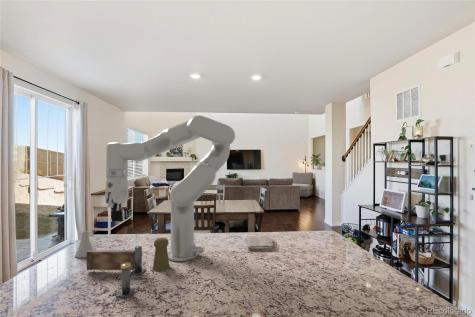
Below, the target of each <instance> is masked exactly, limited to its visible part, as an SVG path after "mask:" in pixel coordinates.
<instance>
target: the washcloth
mask: <svg viewBox="0 0 475 317" xmlns="http://www.w3.org/2000/svg"><path fill="white" fill-rule="evenodd" d="M245 240H246V244H247V251H248V252H273V251H274V248H273V247H274V244H273V241H272V238H271V237H270V235H261V236H260V235H259V236H256V235H254V236H253V235H251V236H250V235H249V236H246V238H245Z"/></svg>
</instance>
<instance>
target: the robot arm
mask: <svg viewBox="0 0 475 317" xmlns="http://www.w3.org/2000/svg"><path fill="white" fill-rule="evenodd" d="M200 138H202V139H205V140H208V141H211V143H212V144H211V145H212V146H211V149H210V151H208V153H207V154H206V155H204V157H203V158H202V159H201V160H200V161H198V163H196V164H194V165H193V167H192V168H191V170H190V172H189V173H188V174H187V175H186V176H185V177H184V178H183V179H182V180H178V181H176V182H175V183H174V184H172V186H171V189H170V251H169V252H168V259H169V261H173V262H186V261H191V260H193V259H195V258H196V257H198V253H199V254H200V253H201V254H203V253H205V248H204V247H203V246H197V244H196V242H195V204H194V203H195V202H196V201H197V200H198V199H199V198H200V197H202V195H203V194H204V193H205V192H206V191H207V190H208V189H209V188H210V187H211V186H212V185H213V183H214V182H215V179H216V173H218V171H219V170H220V169H221V168H222V167H223V166H224V165H225V164H226V162H228V159H229V158H230V157H229V156H230V152H231V145H232V144H233V143H234V141H235V139H236V134H235V131H234V129H233V128H232V127H231V126H230V125H227V124H226V123H222V122H220V121H217V120H214V119H212V118H210V117H207V116H204V115H200V114H199V115H194V116H192V117H191V118H190V119H189V120H187V121H184V122H182V123H179V124H176V125H174V126H171V127H168V128H167V129H164V130H163V131H161V132H160V133H159V134H157V135H156V136H154V137H152V138H148V139H146V140H145V141H142V142H138V141H137V142H135V141H134V142H127V143H126V142H109V143H107V145H106V158H105V160H106V166H105V167H106V170H105V172H106V174H105V176H106V181H105V189H104V190H105V193H104V194H105V195H104V200H105V204H107V207H108V208H110V211H111V215H110V216H111V222H120V221H122V214H123V213H122V212H123V211H122V210H123V205H124V204H125V202H127V201H129V199H130V198H129V197H130V192H129V182H128V181H129V180H128V161H130V162H131V161H132V162H143V161H145V160H148V159H150V158H153V157H155V156H157V155H159V154H163V153H165V152H167V151H171V150H174V149H176V148H179V147H181V146H183V145H184V144H188V143H190V142H193V141H195V140H198V139H200Z"/></svg>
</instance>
